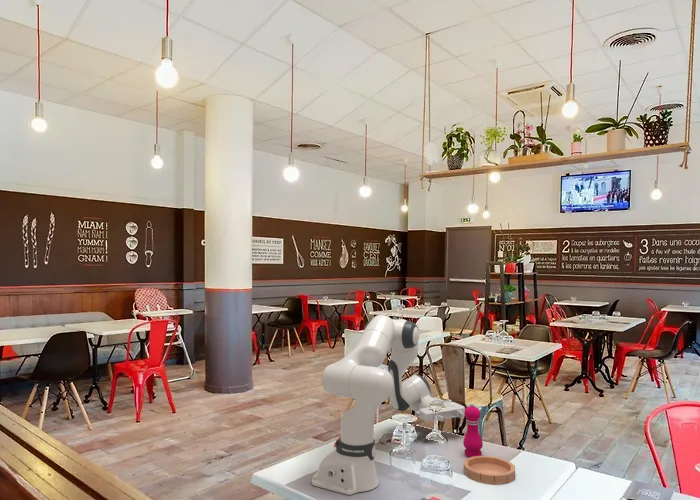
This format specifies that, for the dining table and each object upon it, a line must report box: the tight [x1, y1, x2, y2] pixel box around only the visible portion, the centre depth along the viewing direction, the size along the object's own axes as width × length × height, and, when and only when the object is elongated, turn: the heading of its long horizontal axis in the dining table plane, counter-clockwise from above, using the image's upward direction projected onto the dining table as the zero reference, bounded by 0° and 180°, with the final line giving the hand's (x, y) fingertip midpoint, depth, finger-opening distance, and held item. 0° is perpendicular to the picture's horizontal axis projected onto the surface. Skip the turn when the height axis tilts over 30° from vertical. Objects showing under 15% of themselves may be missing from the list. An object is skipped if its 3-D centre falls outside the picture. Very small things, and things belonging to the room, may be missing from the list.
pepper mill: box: [462, 401, 484, 458], centre depth 187 cm, size 7×7×20 cm
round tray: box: [463, 455, 516, 485], centre depth 170 cm, size 17×17×3 cm
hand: (453, 417), depth 198 cm, fingers open, 8 cm apart
